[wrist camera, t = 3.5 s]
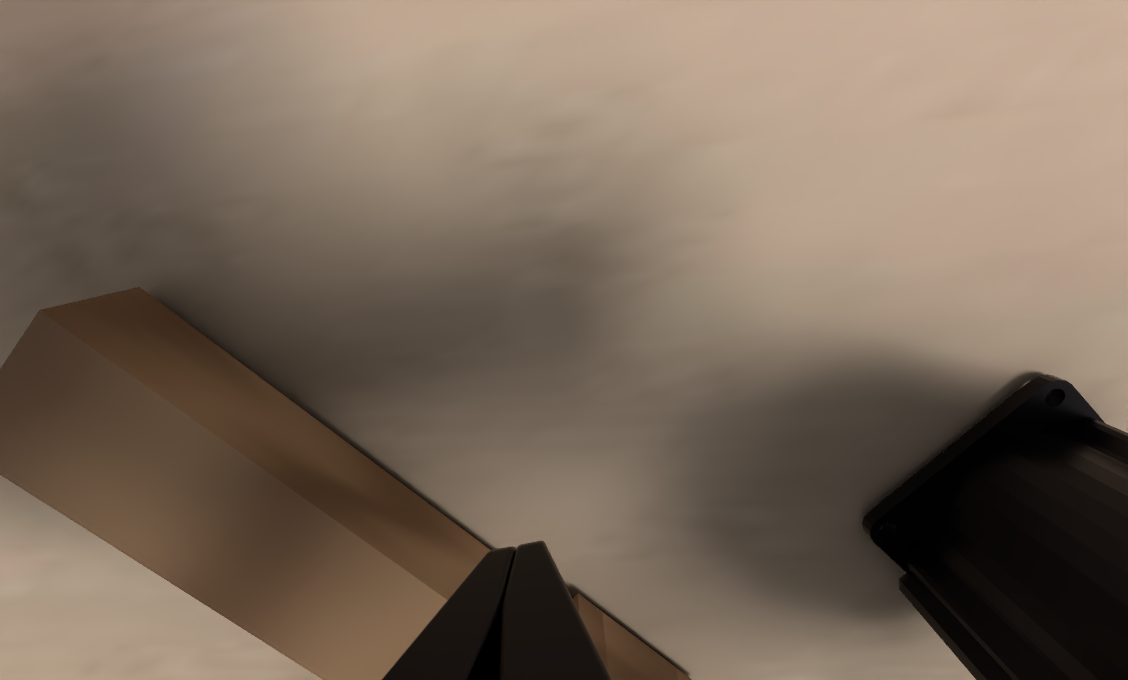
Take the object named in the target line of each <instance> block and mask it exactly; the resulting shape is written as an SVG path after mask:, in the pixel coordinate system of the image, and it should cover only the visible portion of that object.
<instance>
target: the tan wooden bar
mask: <svg viewBox="0 0 1128 680" xmlns="http://www.w3.org/2000/svg"><path fill="white" fill-rule="evenodd" d="M0 475H2V476H3V477H5V478H6V479H8V480H10V481H11V482H13V483H14V484H16V485H17V486H19V487H21V488H22V489H24V490H25V491H27V492H29V493H30V494H32V495H33V496H35V497H36V498H38V499H40V500H41V501H43V502H44V503H46V504H47V505H49V506H51V507H52V508H54V509H55V510H57V511H58V512H60V513H62V514H63V515H65V516H66V517H68V518H69V519H71V520H73V521H74V522H76V523H77V524H79V525H80V526H82V527H84V528H85V529H87V530H88V531H90V532H92V533H93V534H95V535H96V536H98V537H99V538H101V539H103V540H104V541H106V542H107V543H109V544H110V545H112V546H114V547H115V548H117V549H118V550H120V551H121V552H123V553H125V554H126V555H128V556H129V557H131V558H132V559H134V560H136V561H137V562H139V563H140V564H142V565H143V566H145V567H147V568H148V569H150V570H151V571H153V572H155V573H156V574H158V575H159V576H161V577H162V578H164V579H166V580H167V581H169V582H170V583H172V584H173V585H175V586H177V587H178V588H180V589H181V590H183V591H184V592H186V593H188V594H189V595H191V596H192V597H194V598H195V599H197V600H199V601H200V602H202V603H203V604H205V605H206V606H208V607H210V608H211V609H213V610H214V611H216V612H217V613H219V614H221V615H222V616H224V617H225V618H227V619H229V620H230V621H232V622H233V623H235V624H236V625H238V626H240V627H241V628H243V629H244V630H246V631H247V632H249V633H251V634H252V635H254V636H255V637H257V638H258V639H260V640H262V641H263V642H265V643H266V644H268V645H269V646H271V647H273V648H274V649H276V650H277V651H279V652H280V653H282V654H284V655H285V656H287V657H288V658H290V659H292V660H293V661H295V662H296V663H298V664H299V665H301V666H303V667H304V668H306V669H307V670H309V671H310V672H312V673H314V674H315V675H317V676H318V677H320V678H321V679H323V680H382V679H383V677H384V676H385V675H386V674H387V673H388V671H389V670H390V669H391V668H392V667H393V665H394V664H395V663H396V662H397V661H398V659H399V658H400V657H401V656H402V655H403V653H404V652H405V651H406V650H407V649H408V647H409V646H410V645H411V644H412V643H413V641H414V640H415V639H416V638H417V637H418V635H419V634H420V633H421V632H422V631H423V629H424V628H425V627H426V626H427V625H428V623H429V622H430V621H431V620H432V619H433V617H434V616H435V615H436V614H437V613H438V611H439V610H440V609H441V608H442V606H443V605H444V604H445V603H446V602H447V600H448V599H449V598H450V597H451V596H452V594H453V593H454V592H455V591H456V590H457V588H458V587H459V586H460V585H461V584H462V582H463V581H464V580H465V579H466V578H467V576H468V575H469V574H470V573H471V572H472V570H473V569H474V568H475V567H476V566H477V564H478V563H479V562H480V561H481V560H482V558H483V557H484V556H485V555H486V554H487V553H488V552H489V551H491V550H490V549H488V548H487V547H486V546H484V545H483V544H482V543H480V542H479V541H478V540H476V539H475V538H474V537H472V536H471V535H470V534H468V533H467V532H466V531H464V530H463V529H462V528H460V527H459V526H458V525H456V524H455V523H454V522H452V521H451V520H450V519H448V518H447V517H446V516H444V515H443V514H442V513H440V512H439V511H438V510H436V509H435V508H434V507H432V506H431V505H430V504H428V503H427V502H426V501H424V500H423V499H422V498H420V497H419V496H418V495H416V494H415V493H414V492H412V491H411V490H410V489H408V488H407V487H406V486H404V485H403V484H402V483H400V482H399V481H398V480H396V479H395V478H394V477H392V476H391V475H390V474H388V473H387V472H386V471H384V470H383V469H382V468H380V467H379V466H378V465H376V464H375V463H374V462H372V461H371V460H370V459H368V458H367V457H366V456H364V455H363V454H362V453H360V452H359V451H358V450H356V449H355V448H354V447H352V446H351V445H350V444H348V443H347V442H346V441H344V440H343V439H342V438H340V437H339V436H338V435H336V434H335V433H333V432H332V431H331V430H329V429H328V428H327V427H325V426H324V425H323V424H321V423H320V422H319V421H317V420H316V419H315V418H313V417H312V416H311V415H309V414H308V413H307V412H305V411H304V410H303V409H301V408H300V407H299V406H297V405H296V404H295V403H293V402H292V401H291V400H289V399H288V398H287V397H285V396H284V395H283V394H281V393H280V392H279V391H277V390H276V389H275V388H273V387H272V386H271V385H269V384H268V383H267V382H265V381H264V380H263V379H261V378H260V377H259V376H257V375H256V374H255V373H253V372H252V371H251V370H249V369H248V368H247V367H245V366H244V365H243V364H241V363H240V362H239V361H237V360H236V359H235V358H233V357H232V356H231V355H229V354H228V353H227V352H225V351H224V350H223V349H221V348H220V347H219V346H217V345H216V344H215V343H213V342H212V341H211V340H209V339H208V338H207V337H205V336H204V335H203V334H201V333H200V332H199V331H197V330H196V329H195V328H193V327H192V326H191V325H189V324H188V323H187V322H185V321H184V320H183V319H181V318H180V317H179V316H177V315H176V314H175V313H173V312H172V311H171V310H169V309H168V308H167V307H165V306H164V305H163V304H161V303H160V302H159V301H157V300H156V299H155V298H153V297H152V296H151V295H149V294H148V293H147V292H145V291H144V290H143V289H141V288H140V287H139V288H134V289H130V290H126V291H121V292H117V293H113V294H108V295H104V296H100V297H95V298H91V299H87V300H82V301H78V302H73V303H69V304H65V305H60V306H56V307H52V308H47V309H43V310H39V312H38V313H37V315H36V316H35V318H34V319H33V321H32V323H31V324H30V326H29V327H28V329H27V330H26V332H25V333H24V335H23V336H22V338H21V339H20V341H19V342H18V344H17V345H16V347H15V348H14V350H13V351H12V353H11V354H10V356H9V357H8V359H7V360H6V362H5V363H4V365H3V366H2V368H1V369H0ZM573 601H574V603H575V605H576V607H577V609H578V611H579V613H580V615H581V617H582V619H583V622H584V624H585V626H586V628H587V630H588V632H589V634H590V636H591V638H592V640H593V642H594V644H595V646H596V648H597V650H598V652H599V654H600V656H601V658H602V660H603V662H604V664H605V666H606V668H607V670H608V672H609V675H610V677H611V679H612V680H691V679H690V678H689V677H687V676H686V675H685V674H683V673H682V672H681V671H679V670H678V669H677V668H676V667H674V666H673V665H672V664H670V663H669V662H668V661H666V660H665V659H664V658H662V657H661V656H660V655H658V654H657V653H656V652H655V651H653V650H652V649H651V648H649V647H648V646H647V645H645V644H644V643H643V642H641V641H640V640H639V639H637V638H636V637H635V636H633V635H632V634H631V633H630V632H628V631H627V630H626V629H624V628H623V627H622V626H620V625H619V624H618V623H616V622H615V621H614V620H612V619H611V618H610V617H608V616H607V615H606V614H605V613H603V612H602V611H601V610H599V609H598V608H597V607H595V606H594V605H593V604H591V603H590V602H589V601H587V600H586V599H585V598H583V597H582V596H581V595H580V594H577V595H576V596H575V597H574V598H573Z"/></svg>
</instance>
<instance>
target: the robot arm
mask: <svg viewBox="0 0 1128 680" xmlns="http://www.w3.org/2000/svg"><path fill="white" fill-rule="evenodd" d="M1050 391H1051V394H1050V395H1049V396H1048V398H1046V395H1047V394H1048V393H1049V392H1050ZM886 523H888V524H887V526H886V527H885V528H883V529H881V530H879V529H880V528H881V526H882V525H884V524H886ZM862 526H863V530H864V531H865V533H866V534H867V535H868V536H869V537H870V539H871V540H872V541H873V542H874V543H875V544H876V545H877V546H878V547H880V548H881V549H882V550H883V551H884V552H885V553H886V554H887V555H888V556H889V557H890V558H891V559H892V560H894V561H895V562H896V563H897V564H898V565H899V566H900V567H901V568H902V569H903V570H904V571H905V572H907V573H906V574H904V575H903V576H902V577H901V578H899V589H900V591H901V592H902V593H903V594H904V595H905V596H906V598H907V599H908V600H909V601H910V602H911V603H912V605H913V606H914V607H915V608H916V609H917V611H918V612H919V613H920V614H921V615H922V616H923V618H924V619H925V620H926V621H927V622H928V623H929V625H930V626H931V627H932V628H933V629H934V630H935V632H936V633H937V634H938V635H939V636H940V638H941V639H942V640H943V641H944V642H945V643H946V645H947V646H948V647H949V648H950V649H951V650H952V652H953V653H954V654H955V655H956V656H957V657H958V659H959V660H960V661H961V662H962V663H963V665H964V666H965V667H966V668H967V669H968V670H969V672H970V673H971V674H972V675H973V676H974V677H975V679H976V680H1128V433H1126V432H1124V431H1122V430H1119V429H1117V428H1114V427H1112V426H1110V425H1107V424H1106V423H1105V422H1104V421H1103V420H1102V419H1101V418H1100V417H1099V415H1098V414H1097V413H1096V412H1095V411H1094V410H1093V408H1092V407H1091V406H1090V405H1089V404H1088V403H1087V402H1086V400H1085V399H1084V398H1083V397H1082V396H1081V395H1080V393H1079V392H1078V391H1077V390H1076V389H1075V388H1074V387H1073V385H1072V384H1070V383H1069V382H1067V381H1065V380H1063V379H1060V378H1057V377H1055V376H1052V375H1041V376H1038V377H1036V378H1034V379H1033V380H1031V381H1030V382H1029V383H1027V384H1026V385H1025V386H1024V387H1022V388H1021V389H1020V390H1019V391H1017V392H1016V393H1015V394H1014V395H1013V396H1011V397H1010V398H1009V399H1008V400H1006V401H1005V402H1004V403H1003V404H1001V405H1000V406H999V407H998V408H997V409H995V410H994V411H993V412H992V413H990V414H989V415H988V416H987V417H985V418H984V419H983V420H982V421H981V422H979V423H978V424H977V425H976V426H974V427H973V428H972V429H971V430H969V431H968V432H967V433H966V434H965V435H963V436H962V437H961V438H960V439H958V440H957V441H956V442H955V443H953V444H952V445H951V446H950V447H948V448H947V449H946V450H945V451H944V452H942V453H941V454H940V455H939V456H937V457H936V458H935V459H934V460H932V461H931V462H930V463H929V464H928V465H926V466H925V467H924V468H923V469H921V470H920V471H919V472H918V473H916V474H915V475H914V476H913V477H912V478H910V479H909V480H908V481H907V482H905V483H904V484H903V485H902V486H900V487H899V488H898V489H897V490H896V491H894V492H893V493H892V494H891V495H889V496H888V497H887V498H886V499H884V500H883V501H882V502H881V503H880V504H878V505H877V506H876V507H875V508H873V509H872V510H871V511H870V512H869V513H868V514H867V515H866V516H865V517H864V520H863V522H862ZM382 680H612V679H611V677H610V675H609V672H608V670H607V668H606V666H605V664H604V662H603V660H602V658H601V656H600V654H599V652H598V650H597V648H596V646H595V644H594V642H593V640H592V638H591V636H590V634H589V632H588V630H587V628H586V626H585V624H584V622H583V619H582V617H581V615H580V613H579V611H578V609H577V607H576V605H575V603H574V601H573V599H572V597H571V595H570V593H569V591H568V589H567V587H566V585H565V583H564V581H563V579H562V577H561V575H560V573H559V571H558V569H557V566H556V564H555V562H554V560H553V558H552V556H551V554H550V552H549V550H548V548H547V546H546V544H545V543H544V542H543V541H537V542H532V543H527V544H522V545H519V546H518V547H517V549H516V548H515V547H506V548H501V549H496V550H491V551H489V552H488V553H487V554H486V555H485V556H484V557H483V558H482V560H481V561H480V562H479V563H478V564H477V566H476V567H475V568H474V569H473V570H472V572H471V573H470V574H469V575H468V576H467V578H466V579H465V580H464V581H463V582H462V584H461V585H460V586H459V587H458V588H457V590H456V591H455V592H454V593H453V594H452V596H451V597H450V598H449V599H448V600H447V602H446V603H445V604H444V605H443V606H442V608H441V609H440V610H439V611H438V613H437V614H436V615H435V616H434V617H433V619H432V620H431V621H430V622H429V623H428V625H427V626H426V627H425V628H424V629H423V631H422V632H421V633H420V634H419V635H418V637H417V638H416V639H415V640H414V641H413V643H412V644H411V645H410V646H409V647H408V649H407V650H406V651H405V652H404V653H403V655H402V656H401V657H400V658H399V659H398V661H397V662H396V663H395V664H394V665H393V667H392V668H391V669H390V670H389V671H388V673H387V674H386V675H385V676H384V677H383V679H382Z"/></svg>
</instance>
